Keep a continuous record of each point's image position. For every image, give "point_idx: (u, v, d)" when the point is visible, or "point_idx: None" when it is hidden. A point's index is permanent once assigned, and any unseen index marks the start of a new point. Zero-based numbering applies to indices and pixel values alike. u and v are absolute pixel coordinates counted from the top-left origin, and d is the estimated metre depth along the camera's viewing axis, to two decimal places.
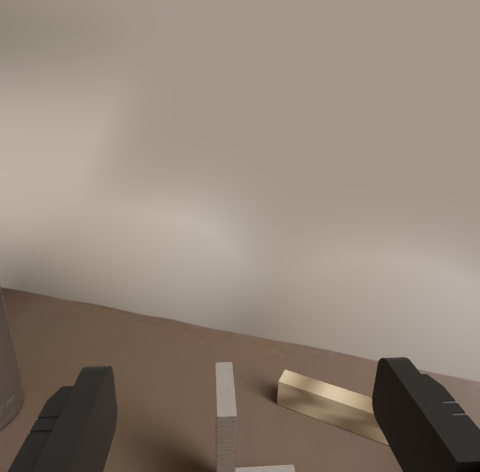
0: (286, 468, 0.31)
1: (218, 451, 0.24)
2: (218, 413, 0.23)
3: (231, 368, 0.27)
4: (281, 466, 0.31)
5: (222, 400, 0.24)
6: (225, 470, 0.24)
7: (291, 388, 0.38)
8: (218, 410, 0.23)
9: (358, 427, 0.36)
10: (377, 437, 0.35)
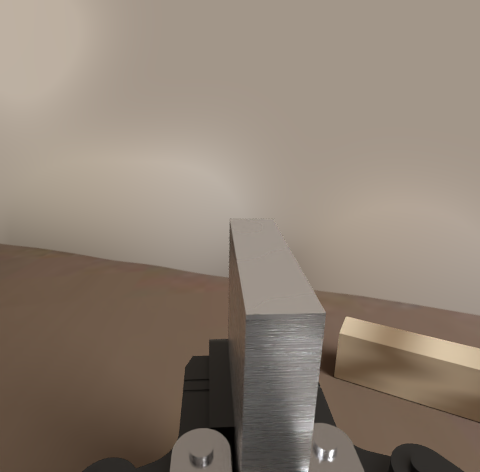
0: None
1: (247, 459, 0.06)
2: (250, 305, 0.06)
3: (274, 225, 0.10)
4: None
5: (260, 277, 0.07)
6: None
7: (364, 344, 0.20)
8: (249, 298, 0.06)
9: None
10: None
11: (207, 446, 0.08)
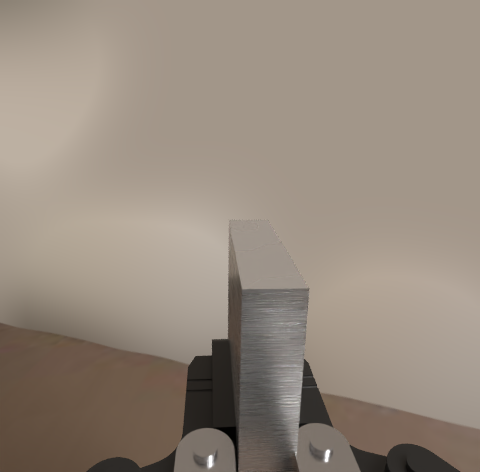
0: None
1: (244, 422, 0.07)
2: (245, 283, 0.07)
3: (269, 225, 0.11)
4: None
5: (254, 263, 0.08)
6: None
7: None
8: (245, 278, 0.07)
9: None
10: None
11: (211, 446, 0.08)
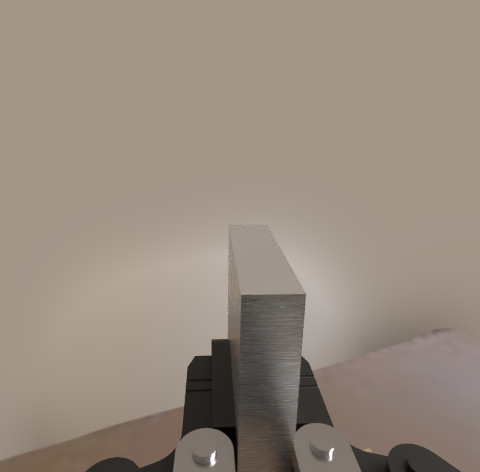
0: None
1: (243, 422, 0.08)
2: (244, 289, 0.07)
3: (267, 230, 0.11)
4: None
5: (253, 268, 0.08)
6: None
7: None
8: (244, 284, 0.07)
9: None
10: None
11: (210, 446, 0.08)
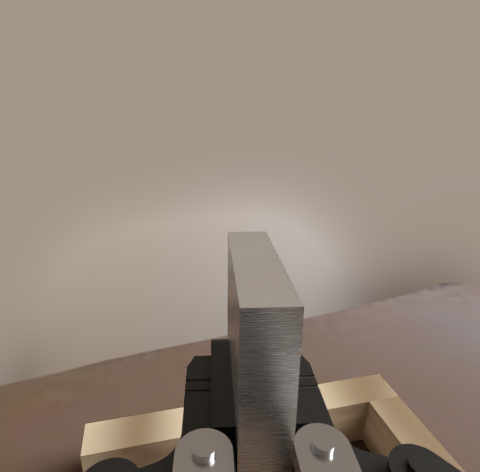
0: None
1: (242, 432, 0.08)
2: (243, 301, 0.07)
3: (266, 237, 0.11)
4: None
5: (252, 279, 0.08)
6: None
7: (110, 455, 0.19)
8: (242, 296, 0.07)
9: None
10: None
11: (210, 446, 0.08)
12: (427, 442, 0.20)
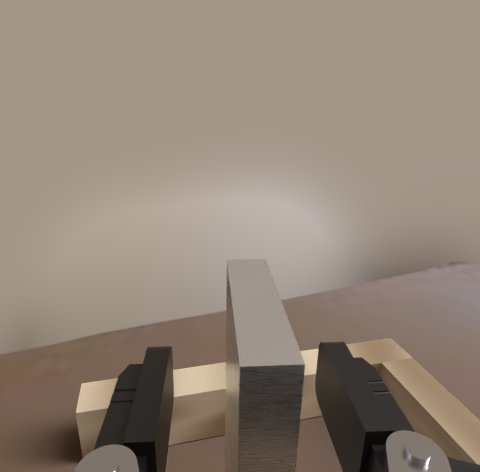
0: None
1: None
2: (243, 357, 0.07)
3: (266, 268, 0.11)
4: None
5: (252, 327, 0.08)
6: None
7: None
8: (242, 350, 0.07)
9: None
10: None
11: (112, 464, 0.07)
12: (445, 400, 0.18)
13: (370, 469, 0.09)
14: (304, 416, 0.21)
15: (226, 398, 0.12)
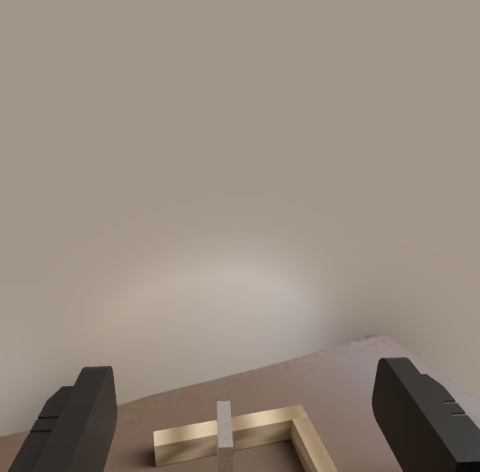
0: None
1: None
2: (219, 444, 0.30)
3: (229, 406, 0.34)
4: None
5: (222, 434, 0.31)
6: None
7: (167, 446, 0.41)
8: (219, 442, 0.30)
9: None
10: (243, 445, 0.44)
11: None
12: (314, 439, 0.42)
13: None
14: (255, 445, 0.44)
15: None
